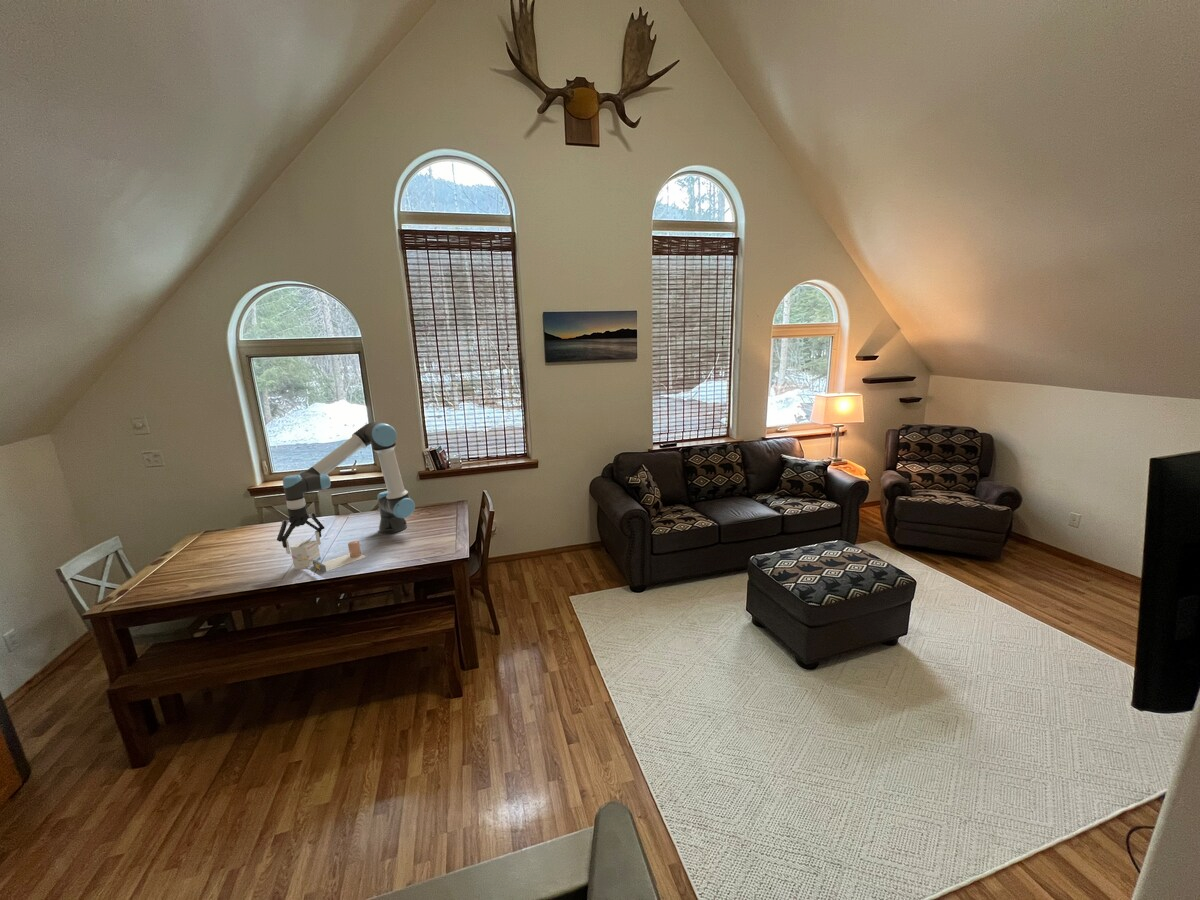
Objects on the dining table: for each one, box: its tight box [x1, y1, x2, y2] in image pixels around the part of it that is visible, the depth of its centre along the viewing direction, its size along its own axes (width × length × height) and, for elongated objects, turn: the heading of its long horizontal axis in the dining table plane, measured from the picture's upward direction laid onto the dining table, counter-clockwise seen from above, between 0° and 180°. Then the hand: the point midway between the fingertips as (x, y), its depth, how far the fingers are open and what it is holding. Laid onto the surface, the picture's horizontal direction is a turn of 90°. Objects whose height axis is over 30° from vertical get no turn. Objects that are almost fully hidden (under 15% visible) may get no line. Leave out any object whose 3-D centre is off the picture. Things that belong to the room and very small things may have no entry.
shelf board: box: [312, 552, 367, 573], centre depth 233 cm, size 20×12×4 cm, turn 142°
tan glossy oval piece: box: [347, 540, 362, 558], centre depth 239 cm, size 5×5×7 cm
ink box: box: [289, 537, 321, 570], centre depth 233 cm, size 9×8×13 cm
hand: (304, 548), depth 232 cm, fingers open, 13 cm apart
